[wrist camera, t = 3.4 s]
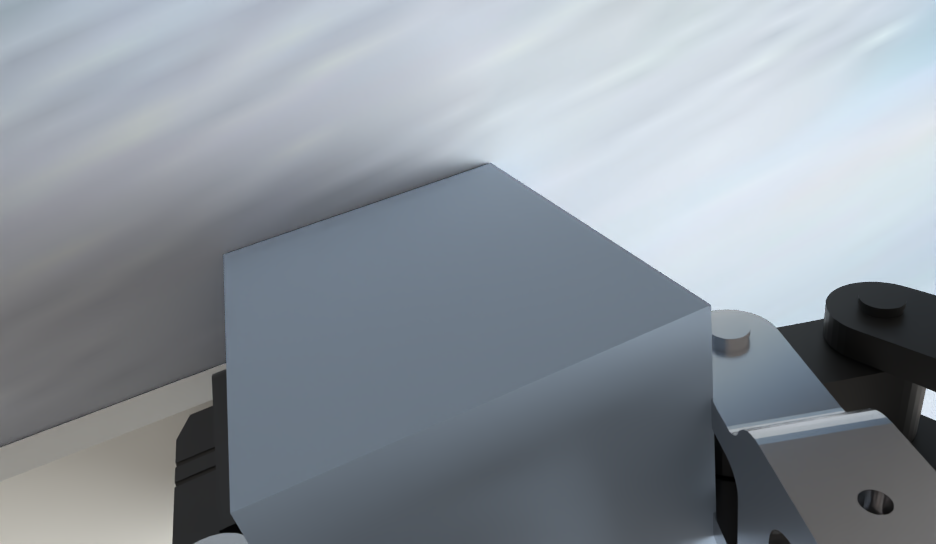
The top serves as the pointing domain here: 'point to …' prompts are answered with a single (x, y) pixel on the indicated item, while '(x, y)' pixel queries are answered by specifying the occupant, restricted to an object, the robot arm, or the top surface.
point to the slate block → (465, 379)
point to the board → (101, 472)
